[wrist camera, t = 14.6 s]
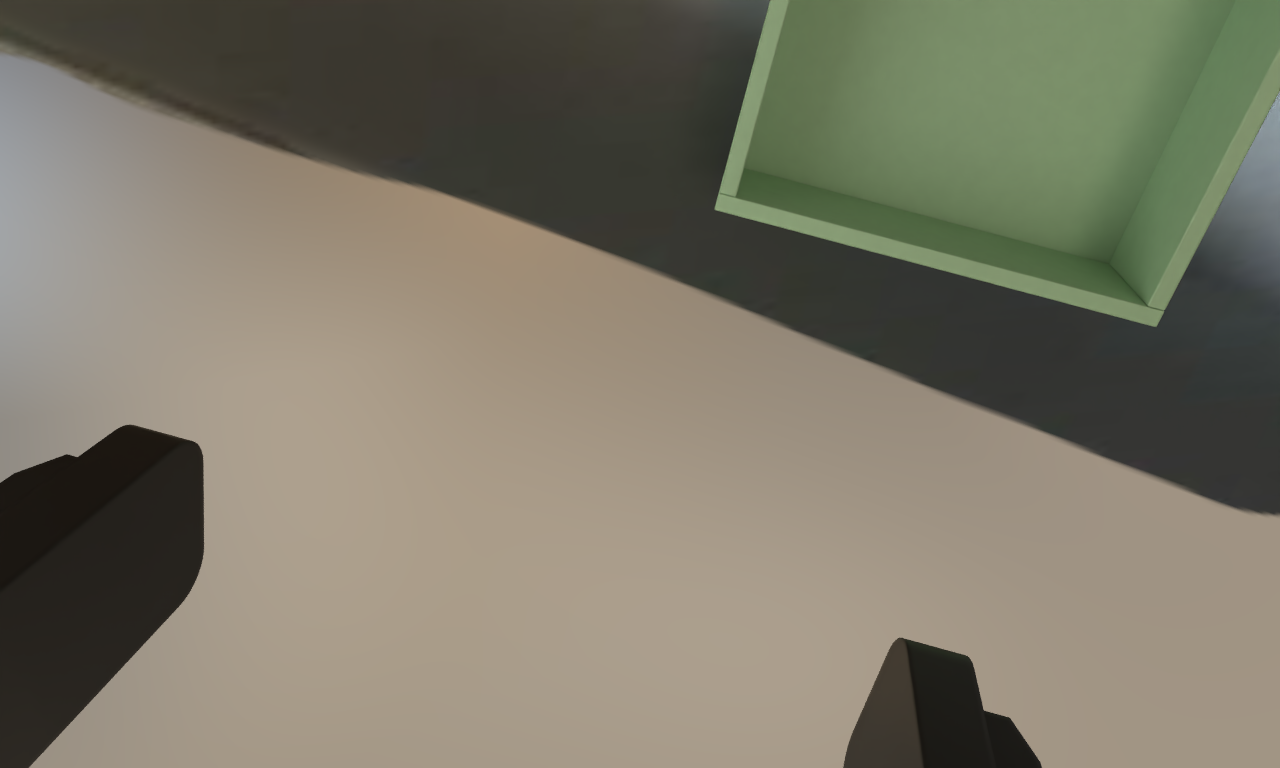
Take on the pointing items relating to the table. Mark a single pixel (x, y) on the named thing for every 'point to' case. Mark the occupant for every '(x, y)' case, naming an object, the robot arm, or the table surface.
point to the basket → (1008, 135)
